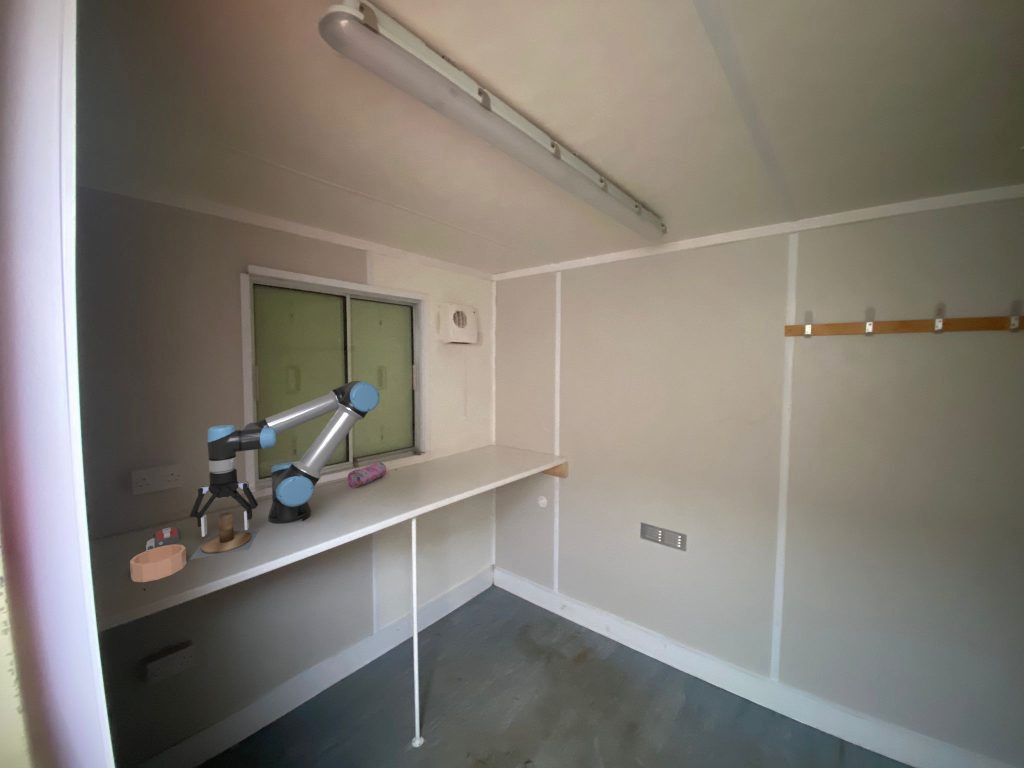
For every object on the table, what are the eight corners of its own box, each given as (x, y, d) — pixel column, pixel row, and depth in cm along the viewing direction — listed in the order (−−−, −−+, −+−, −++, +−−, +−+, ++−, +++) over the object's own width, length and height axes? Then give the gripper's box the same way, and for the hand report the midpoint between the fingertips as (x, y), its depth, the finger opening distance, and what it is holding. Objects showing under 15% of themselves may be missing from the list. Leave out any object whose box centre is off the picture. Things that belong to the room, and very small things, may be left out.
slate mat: (259, 532, 142) (258, 529, 142) (249, 552, 127) (248, 549, 127) (206, 540, 135) (206, 537, 135) (189, 562, 121) (189, 559, 121)
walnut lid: (255, 531, 140) (253, 504, 140) (246, 548, 128) (244, 519, 127) (208, 538, 135) (207, 510, 134) (194, 557, 122) (192, 526, 121)
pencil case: (358, 490, 188) (358, 472, 187) (344, 487, 192) (344, 470, 191) (388, 477, 208) (387, 461, 207) (375, 475, 211) (375, 459, 211)
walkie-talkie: (146, 539, 137) (145, 561, 122) (146, 528, 136) (144, 548, 122) (179, 532, 143) (181, 552, 128) (178, 521, 142) (180, 539, 128)
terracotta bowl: (191, 559, 123) (190, 541, 122) (176, 579, 112) (175, 559, 111) (143, 567, 118) (142, 549, 117) (123, 589, 107) (121, 568, 106)
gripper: (265, 463, 138) (268, 521, 139) (183, 471, 128) (187, 533, 130) (261, 469, 131) (264, 529, 132) (174, 477, 121) (178, 543, 123)
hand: (226, 531), depth 131 cm, fingers open, 11 cm apart
